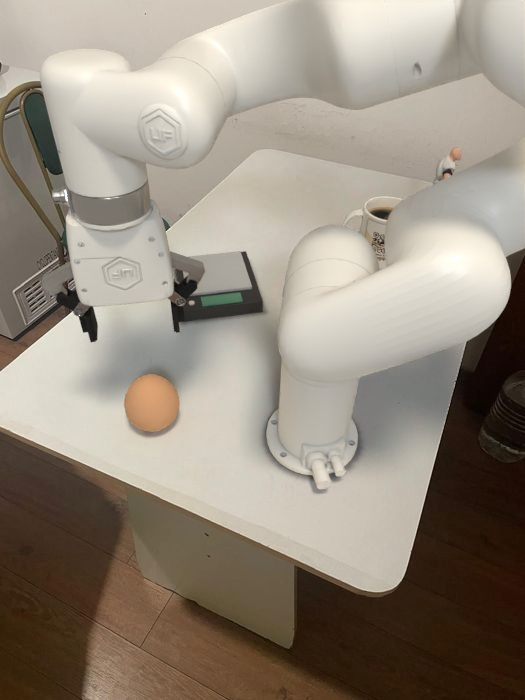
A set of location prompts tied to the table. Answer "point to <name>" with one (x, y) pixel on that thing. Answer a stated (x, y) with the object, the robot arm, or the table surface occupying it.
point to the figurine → (447, 165)
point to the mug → (375, 223)
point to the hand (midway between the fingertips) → (135, 329)
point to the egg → (151, 403)
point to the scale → (223, 288)
